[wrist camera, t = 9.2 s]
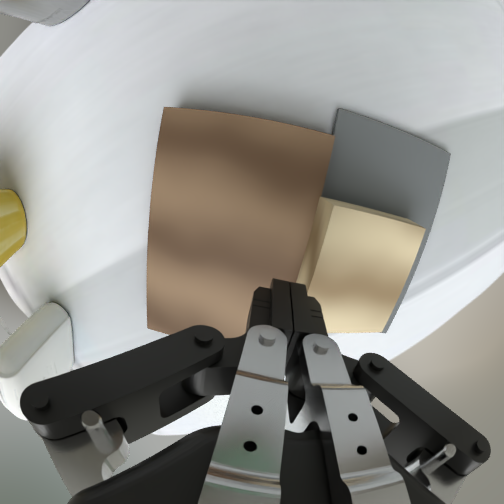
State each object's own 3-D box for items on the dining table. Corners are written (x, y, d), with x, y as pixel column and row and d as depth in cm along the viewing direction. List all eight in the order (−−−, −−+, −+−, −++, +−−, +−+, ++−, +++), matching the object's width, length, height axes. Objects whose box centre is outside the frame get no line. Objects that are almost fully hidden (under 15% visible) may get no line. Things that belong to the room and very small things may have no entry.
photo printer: (77, 368, 27) (30, 435, 15) (53, 351, 26) (4, 412, 15) (75, 313, 23) (4, 391, 11) (47, 294, 23) (-25, 360, 11)
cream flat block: (319, 196, 15) (333, 205, 13) (408, 218, 16) (425, 228, 14) (286, 313, 18) (293, 332, 16) (369, 316, 19) (381, 332, 17)
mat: (337, 109, 15) (339, 108, 14) (446, 153, 15) (450, 153, 14) (285, 313, 20) (285, 317, 20) (384, 329, 20) (386, 333, 20)
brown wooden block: (175, 110, 15) (163, 106, 14) (328, 137, 15) (335, 135, 14) (156, 314, 22) (147, 328, 20) (273, 341, 21) (272, 358, 20)
